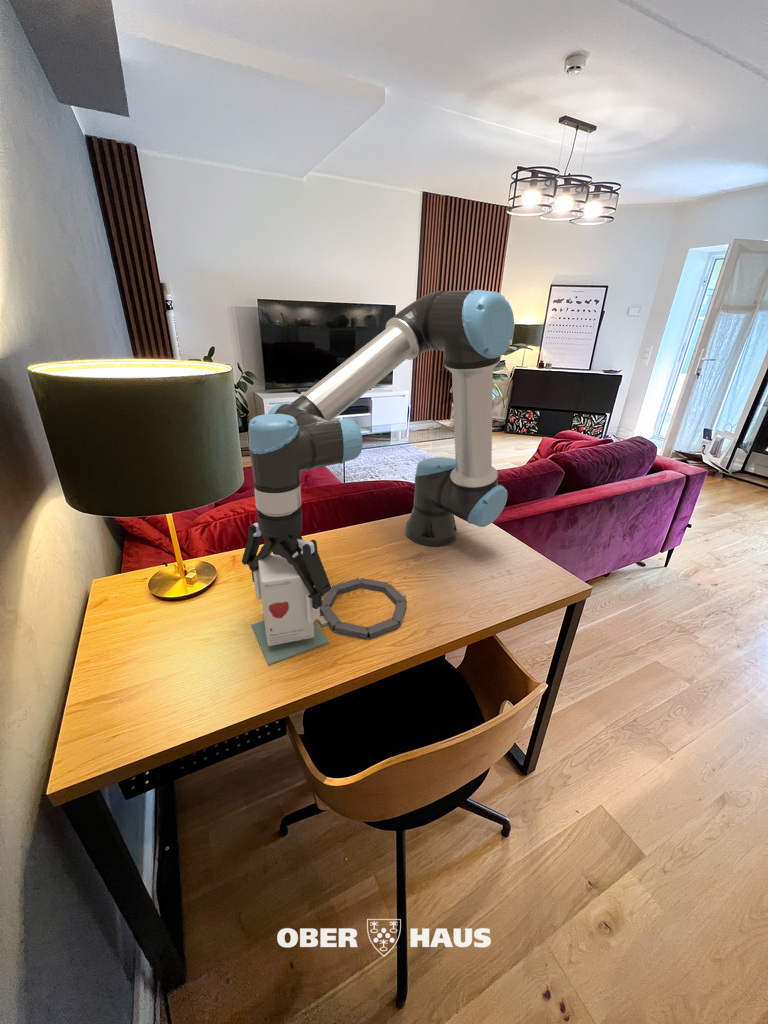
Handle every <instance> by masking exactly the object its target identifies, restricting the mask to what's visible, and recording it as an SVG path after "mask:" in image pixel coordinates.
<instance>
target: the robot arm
mask: <svg viewBox="0 0 768 1024" xmlns="http://www.w3.org/2000/svg"><path fill="white" fill-rule="evenodd" d="M514 319H515V318H514V313H513V308H512V306H511V303H510V302H509V301H508V300H507V299H506V297H505V296H504V295H502V294H501V293H499V292H497V291H490V290H483V289H466V290H465V289H463V290H461V289H460V290H437V291H434V292H430V293H428V294H425V295H423V296H421V297H419V298H418V299H416V300H414V301H413V302H412V303H410V304H408V305H407V306H405V307H404V308H403V309H401V310H400V311H399V312H397V313H396V314H394V316H392V317H391V318H390V319H389V320H387V321H386V324H385V329H384V330H383V331H381V332H380V333H378V334H377V335H376V336H375V337H374V338H372V339H371V340H370V341H369V342H367V343H366V344H364V345H363V346H362V347H361V348H359V349H358V350H357V351H356V352H355V353H353V354H352V355H350V357H348V358H347V359H345V360H344V361H343V362H341V364H340V365H338V366H337V367H336V368H335V369H333V370H332V371H331V372H329V373H328V374H327V375H325V377H322V379H321V380H319V381H318V382H317V383H316V384H314V385H313V386H311V388H309V389H308V390H306V391H305V392H304V393H303V394H302V395H300V396H299V397H298V398H296V399H295V400H294V401H293V402H291V403H279V404H275V405H274V406H272V407H271V408H270V409H269V411H268V412H267V413H264V414H260V415H256V416H254V417H253V418H252V419H251V420H250V421H249V423H248V450H249V454H250V455H249V456H250V461H251V468H252V477H253V490H254V500H255V508H256V509H257V511H256V517H257V519H256V520H257V521H256V522H255V523H253V524H251V525H249V526H248V527H247V529H248V530H247V531H248V538H247V542H246V545H245V548H244V552H243V555H242V558H241V563H242V564H243V566H244V565H245V566H246V565H247V566H248V568H249V569H250V571H251V579H252V582H253V583H254V591H255V592H254V593H255V598H256V599H255V600H256V601H260V600H261V601H262V597H261V587H260V576H259V564H258V561H259V560H262V559H264V558H265V557H267V556H269V555H272V554H275V555H280V556H281V557H283V558H285V559H286V560H287V561H288V563H289V564H291V565H293V567H294V568H295V570H296V571H297V573H298V575H299V576H300V578H301V580H302V581H303V583H304V585H305V586H306V588H307V590H308V591H309V592H308V593H307V594H306V602H307V620H308V623H310V624H312V623H313V622H314V621H316V620H318V619H317V618H318V617H321V614H320V606H321V605H322V600H323V596H324V595H326V594H327V592H328V591H329V590H330V589H331V587H332V585H331V583H330V580H329V578H328V575H327V573H326V572H327V571H326V570H325V567H324V565H323V562H322V560H321V557H320V555H319V552H318V543H317V541H316V540H315V539H311V540H310V541H308V540H304V539H303V537H302V533H301V531H302V528H303V509H302V508H303V507H302V506H301V505H302V494H301V493H302V491H301V472H303V471H308V470H309V471H310V470H313V469H319V468H323V467H327V466H332V465H333V466H334V465H337V464H340V465H342V464H344V463H346V462H349V461H353V460H355V459H357V458H358V457H359V456H360V455H361V453H362V450H363V434H362V431H361V429H360V427H359V425H358V424H357V422H356V421H354V420H352V419H349V418H343V419H340V418H337V417H338V416H340V414H341V413H343V412H344V411H346V410H347V409H348V408H349V407H350V406H351V405H353V404H354V403H355V402H356V401H357V400H359V399H360V398H361V397H363V396H364V395H365V394H366V393H367V392H368V391H370V390H371V389H372V388H374V387H375V386H376V385H377V384H378V383H379V382H381V381H382V380H383V379H384V378H385V377H387V376H388V375H389V374H390V373H391V372H392V371H394V370H395V369H396V368H397V367H399V366H400V365H401V364H402V363H403V362H405V361H406V360H409V361H412V360H414V359H416V358H417V357H418V356H419V355H421V354H422V353H425V352H428V351H439V352H443V365H444V368H446V369H447V370H448V371H449V372H450V373H451V379H452V380H451V381H452V382H451V384H452V385H451V386H452V404H453V407H452V408H453V427H454V428H453V430H454V432H453V433H454V453H455V454H454V455H455V456H454V458H450V457H429V458H425V459H421V460H420V461H419V462H418V463H417V466H416V472H415V475H414V476H415V477H414V491H413V505H412V506H413V507H412V510H411V513H410V515H409V518H408V520H407V522H406V524H405V535H406V537H407V538H408V539H409V540H410V541H412V542H414V543H417V544H419V545H423V546H429V547H442V546H443V547H444V546H446V545H449V544H452V543H453V542H454V541H455V540H456V539H457V531H458V529H457V525H456V518H455V517H457V518H458V519H461V520H463V521H464V522H466V523H468V524H472V525H474V526H477V527H480V528H484V527H487V526H489V525H491V524H492V523H493V522H494V521H496V519H498V518H499V516H500V514H501V513H502V512H503V510H504V508H505V506H506V504H507V500H508V490H507V489H506V488H505V487H504V485H501V484H499V483H498V480H499V479H498V478H499V474H498V470H497V468H495V467H493V466H492V457H493V454H492V452H493V450H492V449H493V393H494V392H493V391H494V390H493V388H494V387H493V384H494V383H493V381H494V379H493V376H494V375H493V374H494V372H493V371H494V369H495V367H496V366H498V365H499V364H500V362H501V356H502V355H504V354H505V353H506V352H507V351H508V349H509V347H510V345H511V342H510V341H511V340H512V339H513V336H514V333H515V332H514V331H515V320H514ZM262 539H263V540H264V543H263V545H262V546H261V548H260V545H261V542H262ZM259 548H260V550H259ZM258 551H259V552H258ZM296 552H298V555H297V556H296V557H294V558H293V557H292V555H294V554H295V553H296Z"/></svg>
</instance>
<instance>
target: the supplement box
mask: <svg viewBox="0 0 768 1024" xmlns="http://www.w3.org/2000/svg"><path fill="white" fill-rule="evenodd" d="M297 555H298V552H296V553H295V554H294V555H292V557H293V558H294V557H296V556H297ZM258 564H259V576H260V587H261V597H262V599H261V604H262V605H261V606H262V613H263V621H264V623H265V631H266V638H267V643H268V646H272V645H277V644H282V643H287V642H293V641H298V640H303V639H308V638H313V637H314V622H313V623H312V624H310V623H308V620H307V602H306V594H307V593H308V592H309V591H308V590H307V588H306V586H305V585H304V583H303V581H302V580H301V578H300V576H299V575H298V573H297V571H296V570H295V568H294V567H293V565H291V564H289V563H288V561H287V560H286V559H285V558H283V557H281V556H280V555H275V554H273V553H271V554H270V555H269V556H267V557H265V558H264V559H262V560H259V561H258Z"/></svg>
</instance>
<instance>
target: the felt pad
mask: <svg viewBox="0 0 768 1024" xmlns="http://www.w3.org/2000/svg"><path fill="white" fill-rule="evenodd" d="M250 626H251V628H252V631H253V633H254V636H255V637H256V640H257V643H258V645H259V647H260V650H261V652H262V655H263V657H264V659H265V662H266V663H267V666H268V667H269V666H272V665H275V664H277V663H280V662H283V661H286V660H288V659H291V658H293V657H297V656H299V655H301V654H305V653H307V652H309V651H311V650H315V649H318V648H320V647H322V646H327V645H328V644H330V643H329V639H328V638H327V637H326V635H325V634H324V632H323V630H322V628H321V626H319V623H318V622H317V621H316V620H315V621H314V637H313V638H308V639H303V640H298V641H293V642H287V643H282V644H277V645H272V646H268V643H267V638H266V631H265V623H264V620H262V621H258V622H255V623H252V624H250Z"/></svg>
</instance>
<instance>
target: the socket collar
mask: <svg viewBox="0 0 768 1024" xmlns="http://www.w3.org/2000/svg"><path fill="white" fill-rule="evenodd" d="M359 589H363V590H367V591H368V590H370V591H375V592H378V593H379V592H380V593H384V595H386V597H387V598H389V600H391V602H392V603H393V604H394V605H395V608H394V610H393V612H392V613H393V614H392V617H391V618H388V619H386V620H382V621H380V622H378V623H375V624H371V625H369V626H364V625H359V624H354V623H349V622H344V621H341V620H340V619H339V617H338V615H336V613H335V612H334V610H333V609H332V606H333V605H334V603H335V601H336V600H337V599H338V596H339V595H342V594H346V593H349V592H353V591H356V590H359ZM406 598H407V594H405V593H404V591H402V590H401V589H398V590H397V589H396V587H394V586H393V585H392V584H391V583H389V582H386V581H380V580H375V579H369V578H364V577H361V578H359V577H357V578H354V579H350V580H347V581H344V582H340V583H337V584H333V585H332V586H331V589H330V590H329V591H328V592H327V593H326V594H325V596H324V597H323V598H322V605H321V606H320V607H319V608H320V616H319V617H318V618H317V619H316V620H317V623H318V624H319V625H320V628H325V627H327V626H328V627H329V628H330V629H329V630H331V631H332V632H333V633H334V634H337V635H340V636H341V635H342V636H346V637H351V638H355V639H359V640H364V641H365V640H366V641H367V640H373V639H376V638H378V637H381V636H384V635H386V634H389V633H391V632H394V631H396V630H399V628H401V625H402V622H403V619H404V616H405V614H406V611H407V605H408V601H407V599H406Z"/></svg>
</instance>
